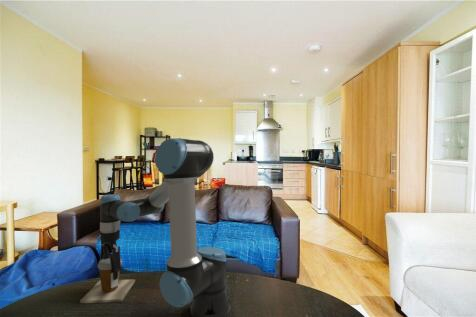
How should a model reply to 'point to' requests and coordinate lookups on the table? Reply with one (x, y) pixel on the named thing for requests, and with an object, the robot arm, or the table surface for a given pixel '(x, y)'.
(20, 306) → the table surface
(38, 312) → the table surface
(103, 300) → the wooden board
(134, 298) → the table surface
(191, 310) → the robot arm
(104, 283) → the disposable coffee cup
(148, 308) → the table surface
